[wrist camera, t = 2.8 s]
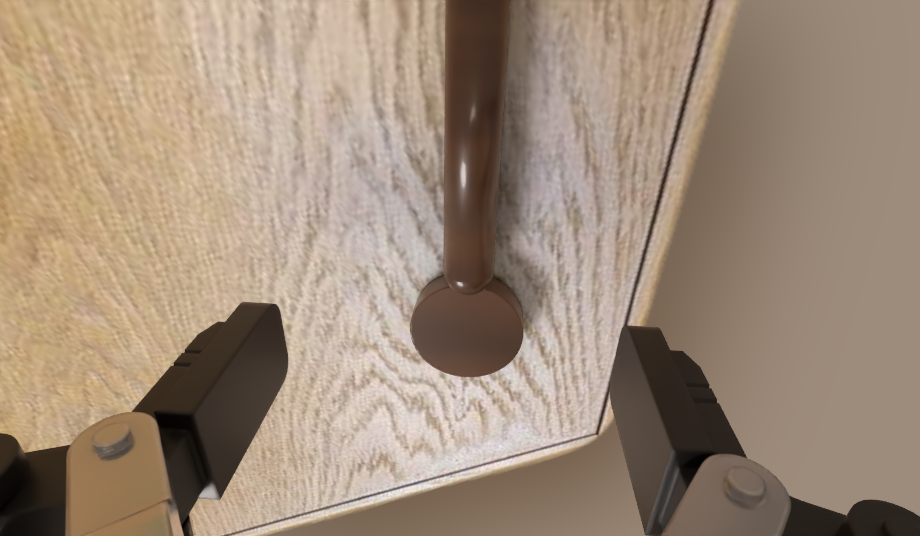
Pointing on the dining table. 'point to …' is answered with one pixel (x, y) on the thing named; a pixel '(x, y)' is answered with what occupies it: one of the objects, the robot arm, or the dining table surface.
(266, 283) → the dining table surface
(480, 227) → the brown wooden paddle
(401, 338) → the dining table surface
